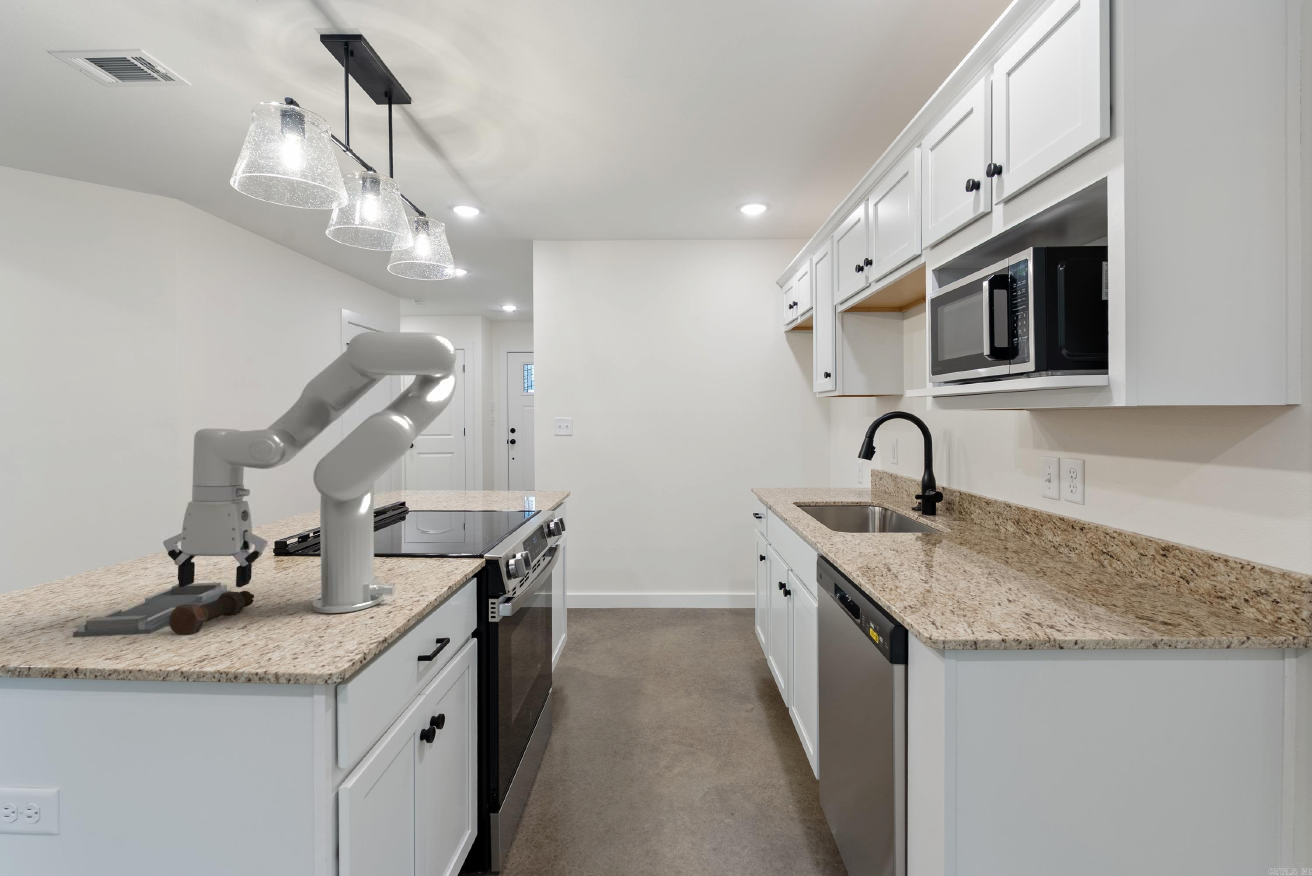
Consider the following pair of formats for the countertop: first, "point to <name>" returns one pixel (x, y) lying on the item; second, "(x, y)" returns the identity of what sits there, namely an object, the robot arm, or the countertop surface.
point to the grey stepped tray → (151, 614)
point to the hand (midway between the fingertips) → (214, 585)
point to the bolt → (207, 612)
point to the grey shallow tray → (120, 622)
